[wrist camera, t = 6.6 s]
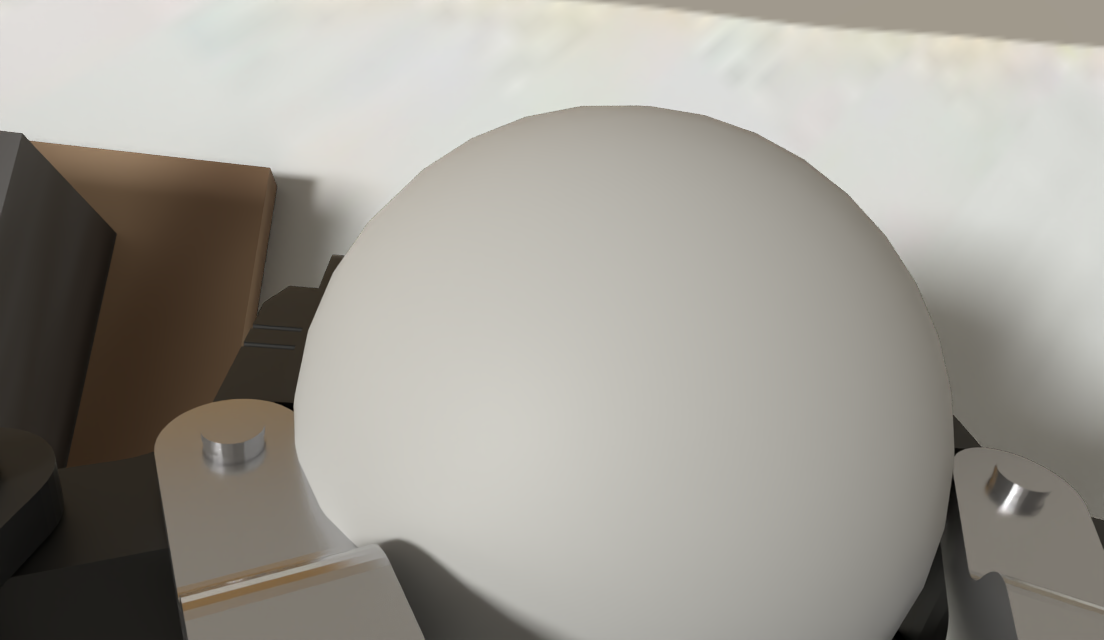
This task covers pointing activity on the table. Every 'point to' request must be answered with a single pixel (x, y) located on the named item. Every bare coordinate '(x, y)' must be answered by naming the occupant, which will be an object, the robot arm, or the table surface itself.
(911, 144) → the table surface
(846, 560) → the lightbulb
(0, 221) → the holder
